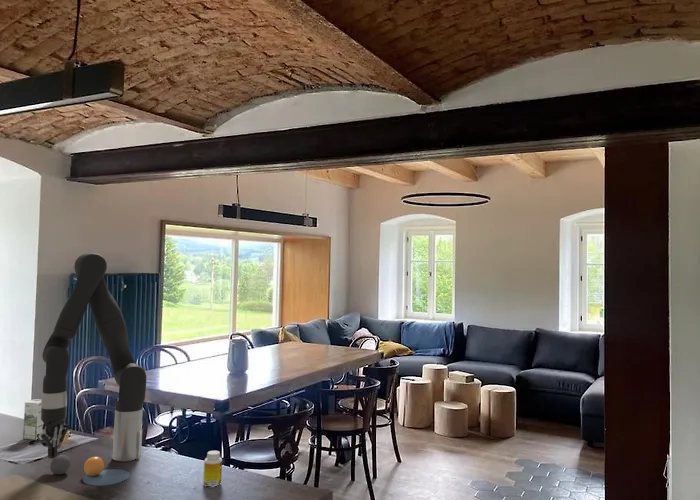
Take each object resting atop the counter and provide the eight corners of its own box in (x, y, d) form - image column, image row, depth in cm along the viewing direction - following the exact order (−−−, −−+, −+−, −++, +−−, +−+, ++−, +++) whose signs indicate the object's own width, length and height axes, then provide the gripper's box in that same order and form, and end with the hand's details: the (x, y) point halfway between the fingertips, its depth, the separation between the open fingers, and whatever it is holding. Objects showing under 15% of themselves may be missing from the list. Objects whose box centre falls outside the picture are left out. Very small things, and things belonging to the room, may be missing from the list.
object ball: (93, 464, 188) (108, 469, 187) (80, 477, 183) (97, 482, 182) (91, 450, 186) (107, 455, 185) (78, 463, 180) (95, 468, 179)
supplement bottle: (222, 487, 178) (223, 454, 178) (204, 489, 176) (205, 455, 177) (219, 480, 183) (221, 449, 184) (202, 482, 181) (203, 450, 182)
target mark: (132, 468, 191) (132, 468, 191) (126, 484, 177) (126, 483, 177) (87, 470, 188) (87, 470, 188) (78, 486, 174) (78, 486, 174)
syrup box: (45, 436, 223) (47, 399, 224) (35, 440, 217) (38, 402, 218) (32, 435, 224) (34, 398, 224) (22, 439, 218) (24, 401, 218)
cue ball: (63, 451, 188) (74, 465, 188) (46, 464, 185) (57, 478, 185) (63, 450, 183) (75, 464, 183) (46, 463, 180) (58, 478, 180)
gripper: (49, 410, 180) (48, 465, 180) (77, 401, 193) (76, 452, 193) (29, 409, 182) (27, 463, 181) (58, 399, 195) (56, 450, 194)
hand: (52, 457), depth 187 cm, fingers closed
